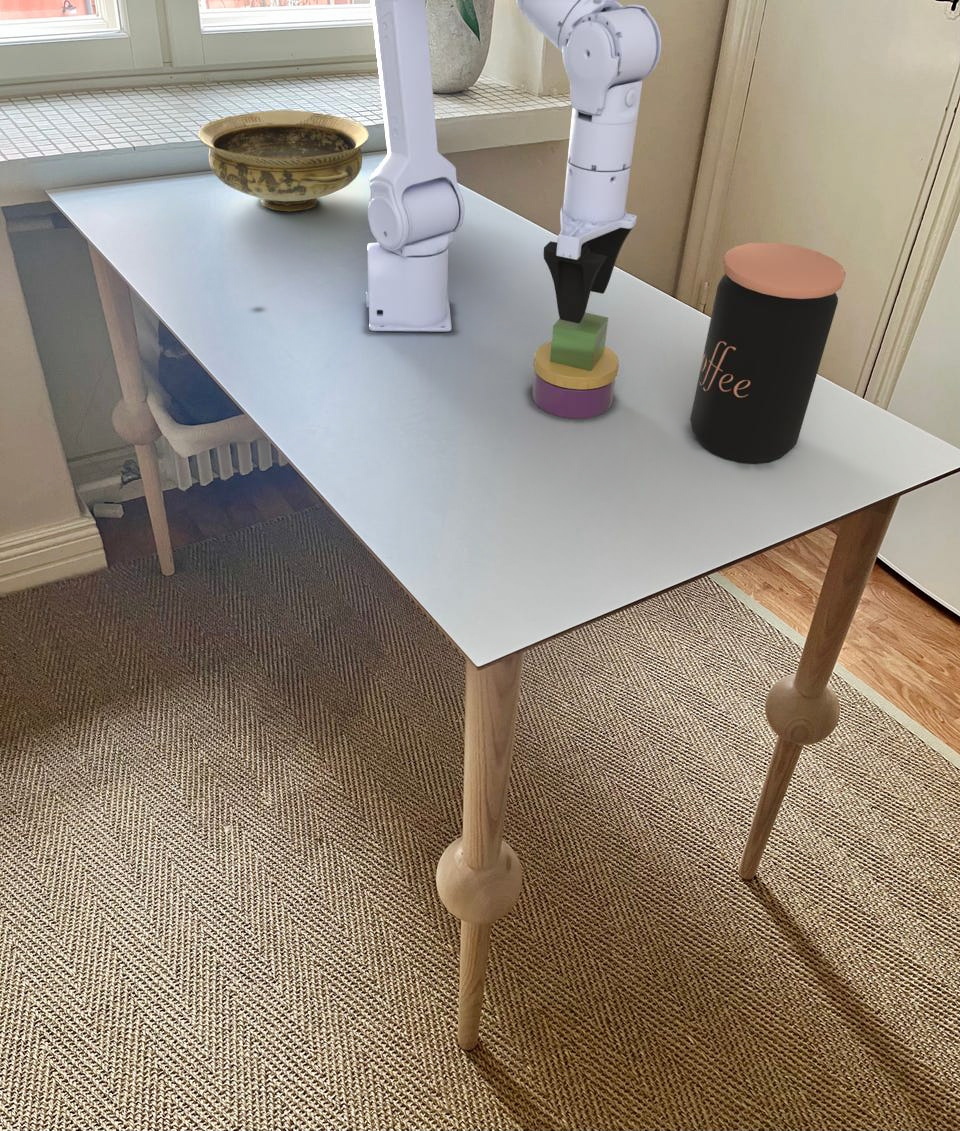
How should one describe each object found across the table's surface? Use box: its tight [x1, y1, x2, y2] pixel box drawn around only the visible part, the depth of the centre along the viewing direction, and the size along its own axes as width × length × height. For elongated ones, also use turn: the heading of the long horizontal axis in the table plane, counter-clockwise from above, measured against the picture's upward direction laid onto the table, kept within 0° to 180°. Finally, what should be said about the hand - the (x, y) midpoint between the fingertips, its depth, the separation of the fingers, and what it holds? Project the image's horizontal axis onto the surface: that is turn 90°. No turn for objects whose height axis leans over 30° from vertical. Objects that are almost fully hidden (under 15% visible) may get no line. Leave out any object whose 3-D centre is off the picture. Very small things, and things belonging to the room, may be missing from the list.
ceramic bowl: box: [197, 109, 370, 212], centre depth 141 cm, size 30×24×10 cm
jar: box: [531, 370, 616, 420], centre depth 101 cm, size 8×8×4 cm
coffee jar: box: [689, 241, 847, 465], centre depth 92 cm, size 11×11×18 cm
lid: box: [532, 340, 620, 389], centre depth 100 cm, size 9×9×1 cm
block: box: [550, 311, 609, 371], centre depth 98 cm, size 4×4×4 cm
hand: (582, 305), depth 96 cm, fingers open, 7 cm apart
